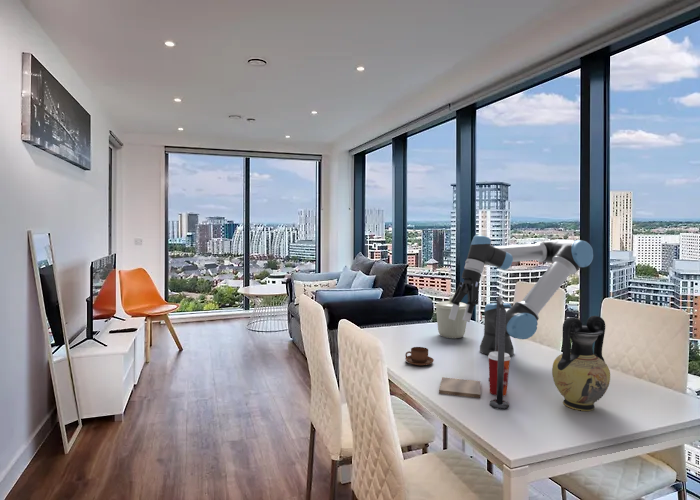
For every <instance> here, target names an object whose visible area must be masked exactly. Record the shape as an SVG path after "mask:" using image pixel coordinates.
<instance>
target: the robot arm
mask: <svg viewBox="0 0 700 500" xmlns="http://www.w3.org/2000/svg"><path fill="white" fill-rule="evenodd" d="M491 244H492V239H491V238H490V237H488V236H486V235H483V234H477V235H476V234H475V235H474V236H473V238H472V240H471V243H470V246H469V250H468V254H467V258H466V260H465V261H464V262H465V265H464V267H463V268H464V269H463V270H462V274H461V279H463V281H460V282H459V283H458V286H457V289H456V290H455V293H454V294H453V296H452V297H453V298H452V300H451V302H452V304H453V305H452V309H451V312H450V315H449V319H452V320H455V319H456V315H457V312H458V309H459V306H460V304H459V303H460V302H462V301H463V299H464V297H465V296H466V295H467V303H466V304H467V306H466V310H465V313H464V317H463V320H464V321H467V323H470V322H471V318H472V315H473V311H474V309H475V306H476V305H478V304H479V295H480V294H479V292H480V291H479V290H480V281H481V277H482V274H483V272H484V268H485V266H492V267H495V268H497V269H500V270H507V269H509V268H511V266H512V264H513V262H527V261H528V262H529V261H536V262H538V263H544V262H545V263H552V264H551V265H549V266H548V269H546V271H545V272H544V273H543V274H542V276H540V278H539V279H538V280H537V282H535V284H534V286H532V288H531V289H530V290H529V291H528V293H526V295H525V296H524V297H523V299H522V300H521V301H516V302H515V303H514V304H513V305H512V304H511V303H507V302H506V303H503V305H504V309H506V323H505V352H504V353H508V354H509V355H510V357H511V356H513V355H514V354H515V353H514V351H515V349H514V345H513V342H512V341H513V340H511V339H512V338H514V339H519V340H527V339H530V338H532V337H533V336H534V335H535V333H536V332H537V331H538V325H539V324H538V321H539V318H540V317H539V313H540V312H541V311H542V310H543V308H544V307H545V306H546V304H547V303H548V302H549V301H550V300H551V299H552V297H553V296H554V295H555V293H556V292H557V291H558V290H559V289H560V287H561V286H562V285H563V284H564V283H565V281H566V280H567V279H568V277H569V276H570V275H575V274H577V272H578V271H579V270H580V268H587V267H589V266H590V264H591V263H592V262H593V259H594V250H593V247H592V245H591V244H590V243H589V242H588V241H586V240H582V239H576V240H575V239H562V238H559V239H551V240H545V241H543V240H542V241H537V242H535V244H534V243H531V244H517V245H515V244H514V245H499V246H493V245H491ZM496 308H497V302H496V303H495V302H494V303H493V302H492V303H486V304H485V307H484V319H483V320H484V321H483V322H484V327H483V328H484V329H483V336H482V339H481V342H480V345H479V352H480V353H481V354H483V355H487V356H488V355H489V353H490V352H495V339H496Z"/></svg>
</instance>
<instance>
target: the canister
mask: <svg viewBox="0 0 700 500" xmlns="http://www.w3.org/2000/svg"><path fill="white" fill-rule="evenodd" d="M452 298H453V296H450V297H449V298H448V300H444V301H438V302H437V303H436V304H434V307H435V310H436V313H435V314H436V322H437V330H438V334H439V336H441V337H443V338H446V339H461V338H463V337H464V336H465V334H466V329H467V323H468V322H467V321H464V320H463V317H464V313H465V310H466V306H467V303H465V302H462V301H461V302H460V303H459V304H460V306H459V309H458V312H457V315H456V319H455V320H452V319H449V315H450V312H451V309H452V305H453V304H452V302H451V300H452Z"/></svg>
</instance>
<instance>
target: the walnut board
mask: <svg viewBox="0 0 700 500" xmlns="http://www.w3.org/2000/svg"><path fill="white" fill-rule="evenodd" d="M438 394H441V395H442V394H443V395H449V396H458V397H459V396H460V397H468V398H477V399H481V381H480V380H473V379H464V378H453V377H444V376H442V377H441V380H440V386H439V389H438Z"/></svg>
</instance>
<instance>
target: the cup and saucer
mask: <svg viewBox="0 0 700 500" xmlns="http://www.w3.org/2000/svg"><path fill="white" fill-rule="evenodd" d="M408 354H410V355H408ZM434 360H435V359H434V358H433V357H431V356H429V348H427V347H423V346H414V347H411V348H410V351H407V352H405V361H406V362H407V363H408V364H410V365H414V366H422V367H423V366H428V365H431V364H432V363H433V362H434Z"/></svg>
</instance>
